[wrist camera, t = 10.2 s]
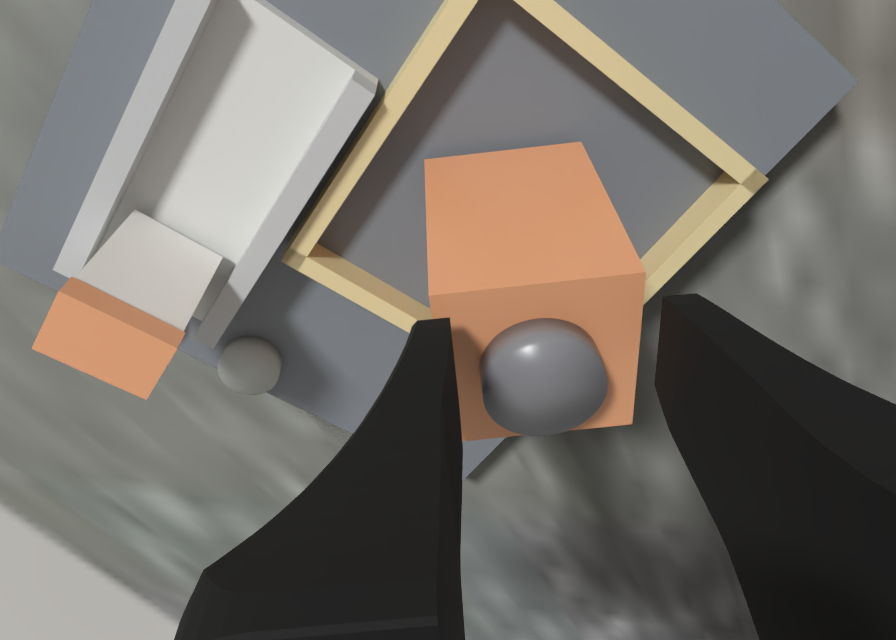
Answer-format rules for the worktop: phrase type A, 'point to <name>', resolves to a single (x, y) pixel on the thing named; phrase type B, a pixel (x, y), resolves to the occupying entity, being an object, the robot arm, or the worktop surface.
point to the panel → (392, 152)
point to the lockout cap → (533, 291)
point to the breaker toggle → (129, 305)
